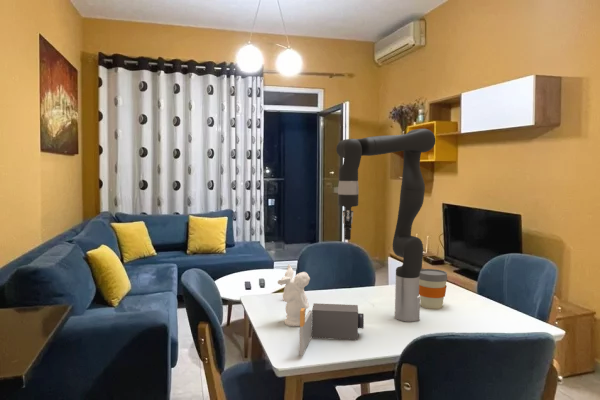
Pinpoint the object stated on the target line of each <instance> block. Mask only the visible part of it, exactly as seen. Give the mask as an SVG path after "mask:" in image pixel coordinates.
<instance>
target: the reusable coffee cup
mask: <svg viewBox="0 0 600 400" xmlns="http://www.w3.org/2000/svg"><path fill="white" fill-rule="evenodd" d="M447 281H448V272H447V271H445V270H442V269H436V268H435V269H434V268H423V269H422V268H421V271H420V278H419V296H420V307H422V308H425V309H428V310H429V309H430V310H439V309H442V308H443V303H444V297H446V291H447Z"/></svg>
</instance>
